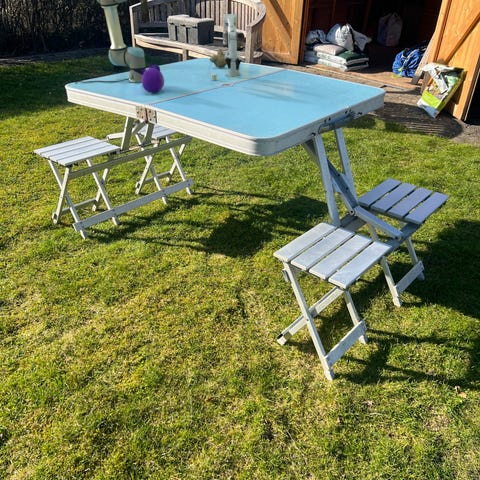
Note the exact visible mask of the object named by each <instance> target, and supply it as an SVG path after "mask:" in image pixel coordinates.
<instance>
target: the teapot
mask: <svg viewBox="0 0 480 480" xmlns="http://www.w3.org/2000/svg"><path fill="white" fill-rule="evenodd" d="M226 52H227V51H225V52H224V51H223V50H222V48H218V51H217V53H216V54H212V55H211V56H210V57H209V61H210V62H211V63H213V65H214V66H215V68H217V69H222V68H225V67H226V66H227V63H226V61H225V54H226Z"/></svg>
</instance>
